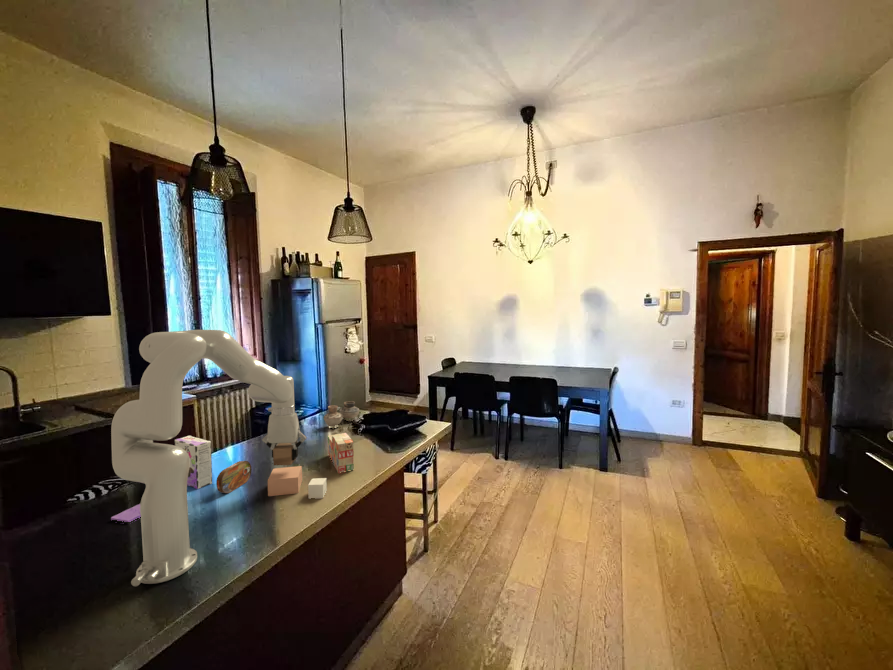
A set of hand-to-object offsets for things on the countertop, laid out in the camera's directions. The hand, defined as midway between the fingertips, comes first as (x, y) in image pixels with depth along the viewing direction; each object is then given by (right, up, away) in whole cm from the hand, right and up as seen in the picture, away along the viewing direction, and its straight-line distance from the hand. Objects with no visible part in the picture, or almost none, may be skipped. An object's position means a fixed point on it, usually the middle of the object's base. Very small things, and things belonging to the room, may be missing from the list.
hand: (285, 458), depth 140 cm
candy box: (-36, -11, +5) cm, 38 cm away
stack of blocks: (+14, -10, +24) cm, 29 cm away
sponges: (-40, -13, -16) cm, 45 cm away
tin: (-19, -11, +1) cm, 22 cm away
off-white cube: (+13, -11, -4) cm, 18 cm away
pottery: (0, -6, +78) cm, 78 cm away
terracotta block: (0, -11, +1) cm, 11 cm away
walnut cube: (0, -1, 0) cm, 1 cm away
